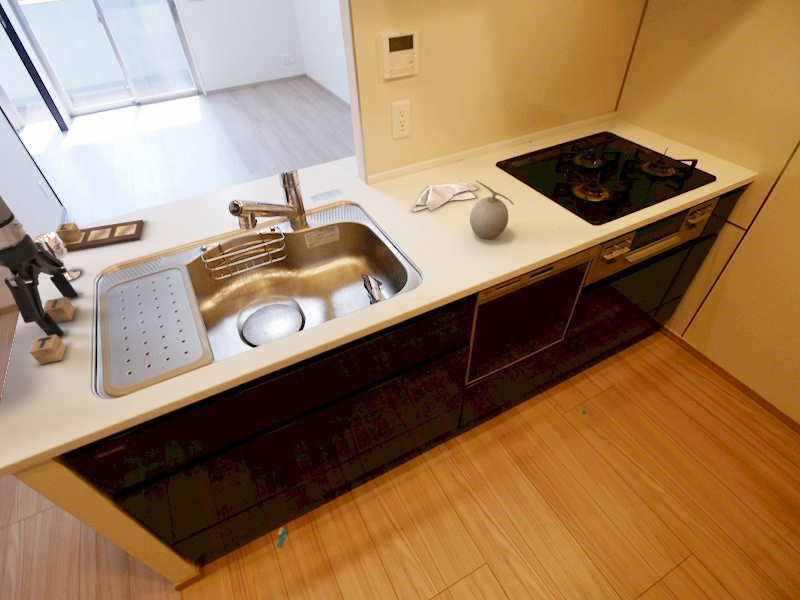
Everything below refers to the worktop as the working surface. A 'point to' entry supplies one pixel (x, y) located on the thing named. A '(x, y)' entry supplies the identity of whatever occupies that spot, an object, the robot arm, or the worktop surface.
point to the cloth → (443, 195)
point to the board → (107, 235)
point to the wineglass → (56, 250)
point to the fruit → (489, 216)
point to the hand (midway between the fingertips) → (64, 315)
